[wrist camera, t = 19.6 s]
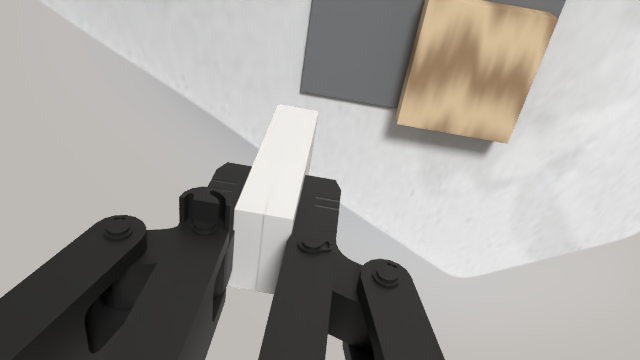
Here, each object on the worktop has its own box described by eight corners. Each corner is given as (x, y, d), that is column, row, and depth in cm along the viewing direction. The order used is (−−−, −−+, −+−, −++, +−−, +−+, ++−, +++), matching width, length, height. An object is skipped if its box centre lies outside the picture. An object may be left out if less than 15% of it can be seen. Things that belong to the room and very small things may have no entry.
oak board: (430, -4, 37) (558, 19, 37) (427, -10, 39) (548, 11, 39) (396, 124, 43) (507, 143, 43) (395, 113, 45) (501, 131, 45)
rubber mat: (301, 89, 45) (300, 91, 45) (319, -50, 39) (319, -50, 39) (512, 126, 45) (513, 128, 45) (566, -7, 39) (567, -6, 38)
